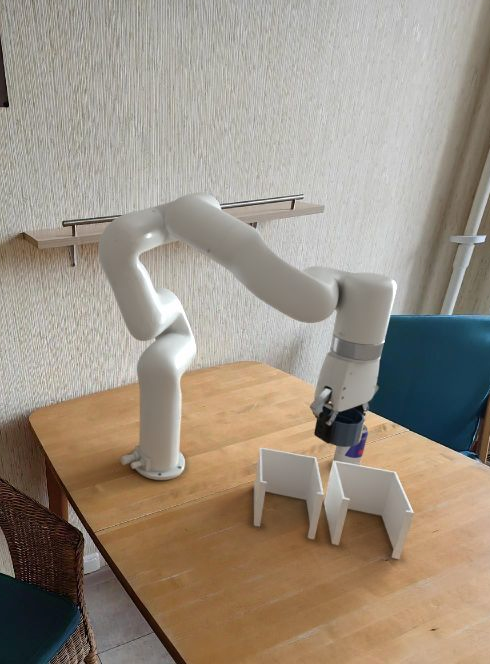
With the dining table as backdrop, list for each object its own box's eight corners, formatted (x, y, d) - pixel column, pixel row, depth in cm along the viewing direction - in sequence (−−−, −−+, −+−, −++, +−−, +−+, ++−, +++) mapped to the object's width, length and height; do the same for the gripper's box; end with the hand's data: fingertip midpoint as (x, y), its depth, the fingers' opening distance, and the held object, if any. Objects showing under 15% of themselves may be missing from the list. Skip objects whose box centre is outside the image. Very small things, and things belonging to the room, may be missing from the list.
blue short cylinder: (341, 453, 75) (346, 429, 73) (306, 431, 81) (310, 408, 79) (368, 441, 77) (374, 418, 76) (333, 421, 84) (337, 399, 82)
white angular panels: (383, 514, 87) (395, 471, 83) (399, 559, 77) (414, 513, 74) (254, 487, 95) (259, 447, 91) (253, 525, 85) (260, 481, 81)
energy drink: (361, 478, 97) (372, 434, 93) (335, 475, 98) (345, 432, 94) (353, 463, 102) (363, 420, 97) (329, 460, 103) (338, 418, 98)
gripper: (369, 329, 79) (351, 411, 85) (300, 348, 72) (286, 435, 79) (411, 344, 73) (388, 431, 79) (340, 365, 66) (321, 458, 72)
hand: (337, 432), depth 79 cm, fingers closed on blue short cylinder, 7 cm apart
